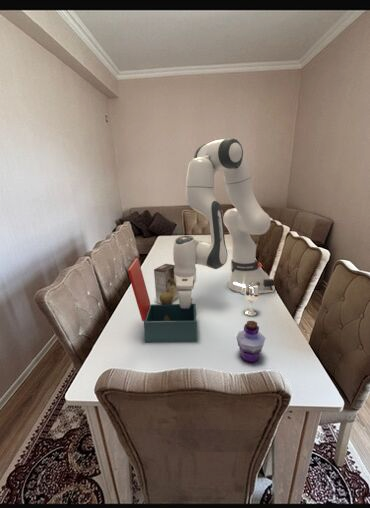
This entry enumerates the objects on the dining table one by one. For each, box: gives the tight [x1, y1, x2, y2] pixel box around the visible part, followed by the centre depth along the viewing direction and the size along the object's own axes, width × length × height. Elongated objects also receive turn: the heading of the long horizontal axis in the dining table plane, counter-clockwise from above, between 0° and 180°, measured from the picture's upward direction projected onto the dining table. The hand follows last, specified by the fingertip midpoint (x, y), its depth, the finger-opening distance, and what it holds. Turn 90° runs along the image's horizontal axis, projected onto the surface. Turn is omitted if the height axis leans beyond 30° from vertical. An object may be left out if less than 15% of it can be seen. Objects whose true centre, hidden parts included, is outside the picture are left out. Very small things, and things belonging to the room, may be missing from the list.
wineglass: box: [243, 283, 260, 317], centre depth 100 cm, size 6×6×12 cm
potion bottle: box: [236, 320, 267, 364], centre depth 75 cm, size 9×9×12 cm
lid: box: [127, 257, 151, 322], centre depth 86 cm, size 18×13×1 cm
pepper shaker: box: [160, 292, 174, 321], centre depth 97 cm, size 6×6×11 cm
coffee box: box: [153, 263, 179, 304], centre depth 113 cm, size 9×6×16 cm
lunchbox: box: [143, 303, 198, 343], centre depth 90 cm, size 18×13×8 cm
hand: (186, 307), depth 104 cm, fingers open, 7 cm apart
